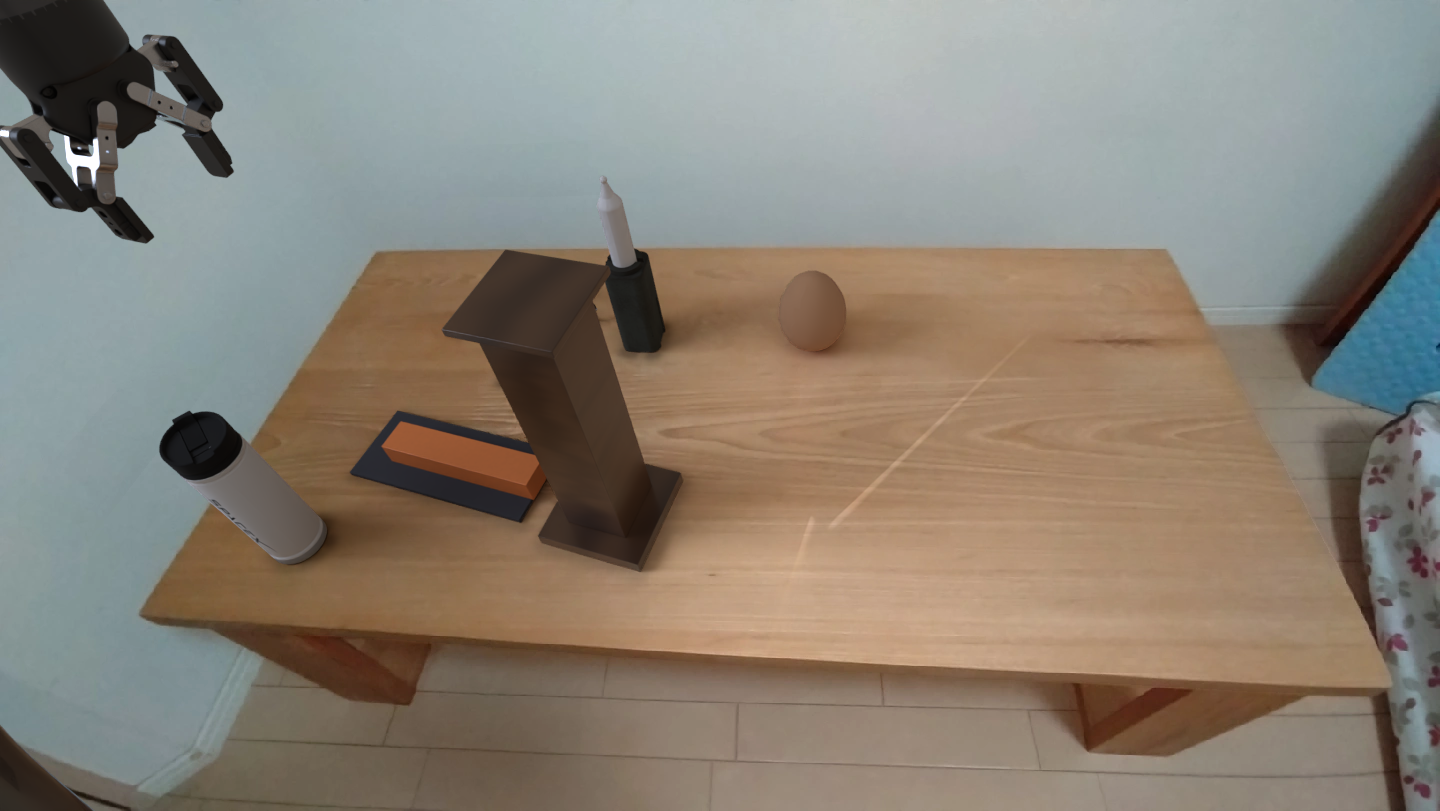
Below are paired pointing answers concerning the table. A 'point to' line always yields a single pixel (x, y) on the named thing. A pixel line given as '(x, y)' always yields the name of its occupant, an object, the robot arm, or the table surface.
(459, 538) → the table surface
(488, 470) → the lever bar
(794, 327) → the egg
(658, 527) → the pedestal
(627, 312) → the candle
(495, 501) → the mat
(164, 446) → the travel mug
